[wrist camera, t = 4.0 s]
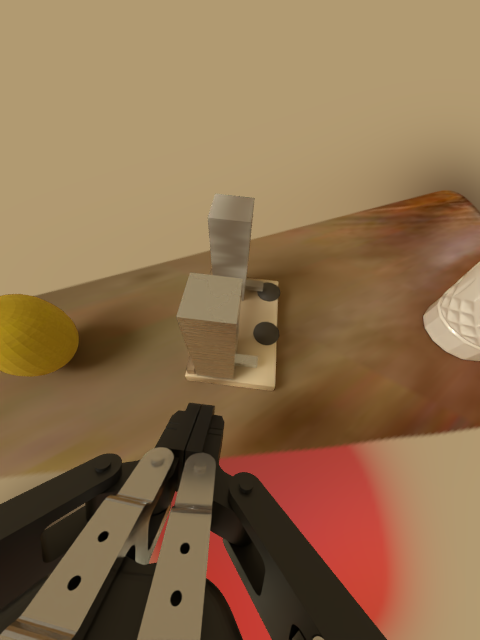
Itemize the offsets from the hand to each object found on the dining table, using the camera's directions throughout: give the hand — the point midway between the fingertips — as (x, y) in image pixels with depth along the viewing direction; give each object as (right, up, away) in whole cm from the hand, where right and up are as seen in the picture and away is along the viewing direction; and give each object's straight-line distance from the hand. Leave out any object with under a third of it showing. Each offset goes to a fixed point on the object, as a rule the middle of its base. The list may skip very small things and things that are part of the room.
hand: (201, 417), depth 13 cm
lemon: (-14, +2, +7) cm, 16 cm away
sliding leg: (0, +2, +6) cm, 7 cm away
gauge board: (+2, +5, +10) cm, 11 cm away
